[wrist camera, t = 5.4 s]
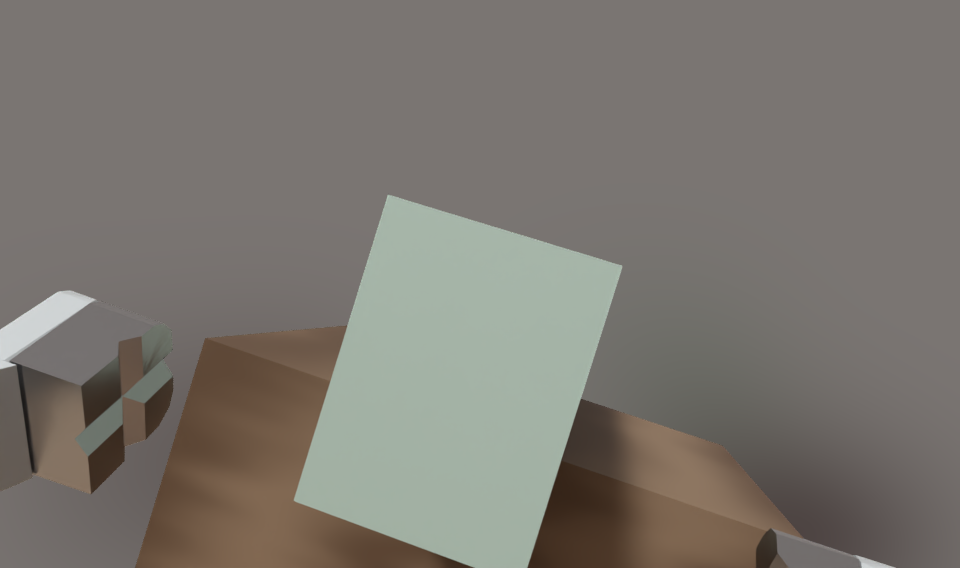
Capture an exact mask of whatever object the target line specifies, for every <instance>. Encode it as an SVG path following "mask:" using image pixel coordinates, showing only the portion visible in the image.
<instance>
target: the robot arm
mask: <svg viewBox="0 0 960 568" xmlns="http://www.w3.org/2000/svg"><path fill="white" fill-rule="evenodd" d="M172 350H173V349H172V333H171V329H169V328H168V327H167V326H166V325H164V324H163V323H160V322H157V321H155V320H152V319H150V318H147V317H144V316H141V315H139V314H136V313H133V312H130V311H128V310H125V309H122V308H119V307H117V306H113V305H111V304H108V303H106V302H103V301H98V300H95V299H92V298H90V297H87V296H84V295H81V294H79V293H76V292H73V291H61V292H58V293H55V294H54V295H52V296H51V297H49V298H48V299H46V300H45V301H43V302H42V303H40V304H39V305H37V306H36V307H34V308H33V309H31V310H30V311H28V312H26V313H25V314H23V315H22V316H21V317H19V318H17V319H16V320H14V321H13V322H11V323H10V324H8V325H7V326H5V327H4V328H2V329H1V330H0V492H1V491H3V490H5V489H8V488H10V487H12V486H14V485H17V484H19V483H21V482H24V481H26V480H28V479H31V478H32V474H34V475H36V476H40V477H42V478H45V479H48V480H51V481H54V482H57V483H60V484H63V485H66V486H68V487H71V488H74V489H77V490H80V491H83V492H86V493H89V494H92V493H93V492H94V491H95V490H96V489H97V488H98V487H99V486H100V485H101V484H102V483H103V482H104V481H105V480H106V479H107V478H108V477H109V476H110V475H111V474H112V473H113V472H114V471H115V470H116V469H117V468H118V467H119V466H120V465H121V464H122V462H124V456H125V446H128V445H131V444H134V443H137V442H140V441H143V440H146V439H147V437H148V436H149V435H150V434H151V433H152V432H153V431H154V430H155V429H156V428H157V427H158V426H159V424H160V422H161V421H162V419H163V417H164V415H165V413H166V412H167V410H168V408H169V406H170V401H171V397H172V392H173V375H172V373H171V372H170V370H169V369H168V367H167V366H166V364H165V362H164V361H163V359H164V358H165V357H166V356H167V355H168V354H169V353H170V352H171V351H172ZM756 568H894V567H891V566H888V565H885V564H882V563H879V562H875V561H872V560H869V559H866V558H863V557H860V556H856V555H854V556H852V555H850V554H848V553H845V552H842V551H839V550H836V549H833V548H830V547H827V546H824V545H820V544H818V543H814V542H811V541H808V540H805V539H802V538H799V537H796V536H793V535H790V534H787V533H784V532H781V531H778V530H775V529H772V528H770V529H769V530H768V531H767V532H766V533H765V534H764V535H763V537H762V539H761V540H760V542H759V544H758V546H757V548H756Z"/></svg>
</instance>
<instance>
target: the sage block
mask: <svg viewBox="0 0 960 568" xmlns="http://www.w3.org/2000/svg"><path fill="white" fill-rule="evenodd" d="M621 269H622V266H621V265H618V264H614V263H611V262H608V261H605V260H601V259H597V258H594V257H591V256H588V255H585V254H582V253H578V252H575V251H572V250H568V249H565V248H562V247H558V246H555V245H552V244H549V243H545V242H542V241H539V240H535V239H532V238H529V237H526V236H522V235H519V234H516V233H512V232H509V231H506V230H503V229H499V228H496V227H493V226H489V225H486V224H483V223H480V222H476V221H473V220H470V219H466V218H463V217H460V216H456V215H453V214H450V213H447V212H443V211H440V210H437V209H434V208H430V207H427V206H424V205H420V204H417V203H414V202H410V201H407V200H404V199H401V198H397V197H394V196H391V195H388V197H387V200H386V203H385V206H384V210H383V213H382V216H381V219H380V222H379V226H378V229H377V232H376V235H375V239H374V242H373V245H372V248H371V252H370V255H369V258H368V261H367V265H366V268H365V271H364V274H363V278H362V281H361V284H360V287H359V291H358V294H357V297H356V300H355V303H354V307H353V310H352V313H351V316H350V320H349V323H348V326H347V329H346V332H345V336H344V339H343V342H342V345H341V349H340V352H339V355H338V358H337V362H336V365H335V368H334V371H333V375H332V378H331V381H330V384H329V387H328V391H327V394H326V397H325V400H324V404H323V407H322V410H321V413H320V417H319V420H318V423H317V426H316V430H315V433H314V436H313V439H312V442H311V446H310V449H309V452H308V455H307V459H306V462H305V465H304V468H303V472H302V475H301V478H300V481H299V485H298V488H297V491H296V494H295V498H294V501H295V502H298V503H300V504H303V505H306V506H309V507H311V508H314V509H317V510H319V511H322V512H325V513H328V514H330V515H333V516H336V517H338V518H341V519H344V520H347V521H349V522H352V523H355V524H357V525H360V526H363V527H366V528H368V529H371V530H374V531H376V532H379V533H382V534H384V535H387V536H390V537H393V538H395V539H398V540H401V541H403V542H406V543H409V544H412V545H414V546H417V547H420V548H422V549H425V550H428V551H431V552H433V553H436V554H439V555H441V556H444V557H447V558H450V559H452V560H455V561H458V562H460V563H463V564H466V565H468V566H471V567H474V568H527V567H528V564H529V561H530V558H531V554H532V551H533V548H534V545H535V542H536V539H537V535H538V532H539V529H540V526H541V523H542V520H543V516H544V513H545V510H546V507H547V504H548V501H549V497H550V494H551V491H552V488H553V485H554V482H555V478H556V475H557V472H558V469H559V466H560V463H561V459H562V456H563V453H564V450H565V447H566V444H567V440H568V437H569V434H570V431H571V428H572V425H573V421H574V418H575V415H576V412H577V409H578V406H579V402H580V399H581V396H582V393H583V390H584V386H585V383H586V380H587V377H588V373H589V371H590V367H591V364H592V361H593V358H594V355H595V352H596V349H597V345H598V342H599V339H600V336H601V333H602V330H603V326H604V323H605V320H606V317H607V314H608V311H609V307H610V304H611V301H612V298H613V295H614V292H615V288H616V285H617V282H618V279H619V276H620V272H621Z"/></svg>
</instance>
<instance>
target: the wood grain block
mask: <svg viewBox="0 0 960 568" xmlns="http://www.w3.org/2000/svg"><path fill="white" fill-rule="evenodd" d="M346 329H347V326H337V327H326V328H315V329H304V330H293V331H281V332H270V333H259V334H248V335H237V336H225V337H215V338H206V339H205V341H204V344H203V348H202V351H201V354H200V357H199V360H198V364H197V367H196V370H195V374H194V377H193V380H192V384H191V387H190V391H189V393H188V397H187V400H186V403H185V407H184V410H183V413H182V416H181V420H180V423H179V426H178V430H177V433H176V436H175V439H174V442H173V446H172V449H171V452H170V455H169V459H168V462H167V465H166V469H165V472H164V475H163V479H162V482H161V485H160V488H159V491H158V495H157V498H156V501H155V505H154V508H153V511H152V515H151V518H150V521H149V524H148V528H147V531H146V534H145V537H144V541H143V544H142V547H141V550H140V554H139V557H138V560H137V564H136V567H135V568H474V567H471V566H468V565H466V564H463V563H460V562H458V561H455V560H452V559H450V558H447V557H444V556H441V555H439V554H436V553H433V552H431V551H428V550H425V549H422V548H420V547H417V546H414V545H412V544H409V543H406V542H403V541H401V540H398V539H395V538H393V537H390V536H387V535H384V534H382V533H379V532H376V531H374V530H371V529H368V528H366V527H363V526H360V525H357V524H355V523H352V522H349V521H347V520H344V519H341V518H338V517H336V516H333V515H330V514H328V513H325V512H322V511H319V510H317V509H314V508H311V507H309V506H306V505H303V504H300V503H298V502H295V501H294V498H295V494H296V491H297V488H298V485H299V481H300V478H301V475H302V472H303V468H304V465H305V462H306V459H307V455H308V452H309V449H310V446H311V442H312V439H313V436H314V433H315V430H316V426H317V423H318V420H319V417H320V413H321V410H322V407H323V404H324V400H325V397H326V394H327V391H328V387H329V384H330V381H331V378H332V375H333V371H334V368H335V365H336V362H337V358H338V355H339V352H340V349H341V345H342V342H343V339H344V336H345V332H346ZM770 528H772V529H775V530H778V531H781V532H784V533H787V534H790V535H793V536H796V537H799V538H802V539H804V538H803V537H802V536H801V535H800V534H799V533H798V532H797V530H796V529H795V528H794V527H793V526H792V525H791V524H790V522H788V520H787V519H786V518H785V517H784V516H783V514H782V513H781V512H780V511H779V510H778V509H777V508H776V506H775V505H774V504H773V503H772V502H771V501H770V500H769V498H768V497H767V496H766V495H765V494H764V493H763V491H762V490H761V489H760V488H759V487H758V486H757V485H756V483H755V482H754V481H753V480H752V479H751V478H750V477H749V476H748V474H747V473H746V472H745V471H744V470H743V469H742V467H741V466H740V465H739V464H738V463H737V462H736V461H735V460H734V458H733V457H732V456H731V455H730V454H729V453H728V451H727V450H726V449H725V448H724V447H723V446H722V445H719V444H716V443H713V442H710V441H707V440H704V439H700V438H698V437H695V436H692V435H689V434H686V433H683V432H680V431H676V430H674V429H671V428H668V427H665V426H661V425H659V424H656V423H652V422H649V421H646V420H643V419H640V418H637V417H634V416H631V415H628V414H625V413H622V412H619V411H616V410H613V409H610V408H607V407H604V406H601V405H598V404H595V403H592V402H589V401H586V400H583V399H580V402H579V406H578V409H577V412H576V415H575V418H574V421H573V425H572V428H571V431H570V434H569V437H568V440H567V444H566V447H565V450H564V453H563V456H562V459H561V463H560V466H559V469H558V472H557V475H556V478H555V482H554V485H553V488H552V491H551V494H550V497H549V501H548V504H547V507H546V510H545V513H544V516H543V520H542V523H541V526H540V529H539V532H538V535H537V539H536V542H535V545H534V548H533V551H532V554H531V558H530V561H529V564H528V567H527V568H756V548H757V546H758V544H759V542H760V540H761V539H762V537H763V535H764V534H765V533H766V532H767V531H768V530H769V529H770Z"/></svg>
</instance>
